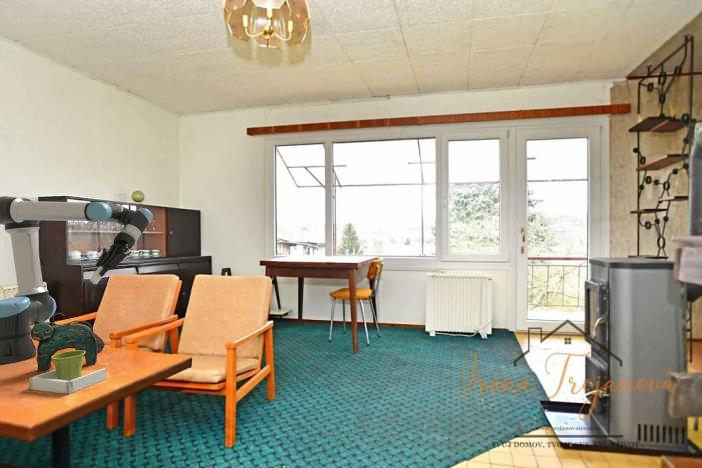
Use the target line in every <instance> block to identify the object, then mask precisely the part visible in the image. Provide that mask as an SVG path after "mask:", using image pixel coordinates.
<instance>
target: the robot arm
mask: <svg viewBox="0 0 702 468" xmlns="http://www.w3.org/2000/svg"><path fill="white" fill-rule="evenodd" d="M153 216H154V215H153V213H152V212H151V211H150V210H149V209H147V208H145V207H139V208H137V209H136V210H134V209H130V208H127V207H124V206H123V205H122V206H121V205H119V204H117V203H115V202H111V201H105V202H99V201H97V202H83V201H82V202H81V201H80V202H79V201H78V202H77V201H76V202H75V201H73V202H72V201H70V202H69V201H44V200H43V201H38V200H37V201H35V200H33V199H30V198H26V197H15V196H14V197H13V196H7V195H5V196H4V195H3V196H0V225H4V230H5V233H7V234H9V235H10V240H11V241H10V242H11V248H12V254H13V255H12V256H13V262H14V269H15V271H14V272H15V277H16V284H17V292H16V293H15V294H14V295H13V297H8V298H3V299H0V364H10V363H17V362H20V361H25V360H28V359H31V358H34V357H37V348H36V345H35V343H34V340H33V339H32V337H31V327H33V326H34V324H35V322H36V321H39V322H40V323H42V322H47V321H48V320H49V319H51V318H53V316H54V315H55V314H56V311H57V310H56V309H57V304H56V301H55V299H54V298H53V297H52V296H51V295H50V293H49V290H48V289H47V288H45V287H44V282H43V276H42V275H43V274H42V267H41V261H40V251H39V246H38V239H37V231H39V230H40V229H41V228H40V223H41V221H54V222H55V221H58V222H59V221H60V222H61V221H62V222H65V221H68V222H69V221H70V222H102V223H103V222H106V223H116V224H119V225H122V228H121V229H120V230H119V232H118V233H117V234H116V236H115V237H114V238H113V243H112V244H111V245H110V246H109V248H106V247H103V249H102V253H101V254H100V256H99V258H98V259H97V261H96V264H95V266H96V270H94V272H93V275H91V277H90V278H89V281H90V282H91V283H92V284H93V285H98V284H99V282H100V280H102V278H103V277H104V276H105V275H106V274H107V272H108V271H110V270H114V269H115V268H116V267H117V266H119V265H120V263H121V262H122V261H123V260H124V259H126V257H127V256H129V255H130V254H132V251H131V249H132V248H133V247H134V245H135V244H136V243H137V241H138V240H139V238H140V237H141V236H142V235H143V233H144V232H145V231H146V229H147V228H148V226H149V225H150V224H151V222H152V221H153V219H154V217H153Z"/></svg>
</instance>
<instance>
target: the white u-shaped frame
mask: <svg viewBox="0 0 702 468" xmlns="http://www.w3.org/2000/svg"><path fill="white" fill-rule="evenodd" d="M107 374H108V373H107V368H104V367H103V368H100V369H98V370H96V371H91V372H90V373H87V374H84V375H81V377H78V378H76V379H73V380H70V381H68V380H59V379H58V378H57V373H56V368H55V369H52V370H50V371H49V370H48V371H45V372H44V373H41V374H40V373H39V374H37V375H33V376H31V377H29V378H28V382H29V385H28V388H29V390H32V391H42V392H49V393H58V394H67V395H70V394H72V393H75V392H79V391H81V390H82V389H86V388H89V387H90V386H93V385H95V384H98V383H101V382H104V381H105V380H107V379H108V378H107Z"/></svg>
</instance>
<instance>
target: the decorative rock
mask: <svg viewBox="0 0 702 468" xmlns="http://www.w3.org/2000/svg"><path fill="white" fill-rule="evenodd" d="M94 334H95V336H96V339H97V344H98V352H97V353H102V351H103V349H104V348H105V345H106V344H105V343H104V341H103V339H102V338H101V337H100V336H99V335H98V334H96V333H95V332H94ZM76 350H79V349H75V348H74V351H76Z"/></svg>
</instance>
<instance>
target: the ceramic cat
mask: <svg viewBox="0 0 702 468" xmlns="http://www.w3.org/2000/svg"><path fill="white" fill-rule="evenodd" d="M56 315H62V316H63V317H65V316H66V315H65V314H64V313H61V312H57V313H56V312H55V313H54V314H53V316H52V321H51V322H50V321H44V322H42V323H40V322H39V321H36V322H35V324H34V325H33V326H32V328H30V335H31V338H32V341H37V342H38V345H37V348H36V363H37V373H38V372H48V371H49V370H51V368H52V361H53V359H52V358H51V357H52V356H53V355H56V354H57V353H58V351H62V350H67V349H74V350H75V349H79V350H82V351H85V354H84V359H85V365H86V366H93V365H96V363H97V360H98V353H99V352H98V344H97V339H96V336H95V334H96V333H95V332H94V328H93V326H92V324H91V323H90V322H88V321H84V320H74V321H73V320H72V321H70V322H67V323H63V324H57V323H56V322H55V320H54V318H55V316H56ZM82 323H83V324H82ZM86 324H87V325H88V326H87V325H86ZM94 333H95V334H94Z"/></svg>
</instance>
